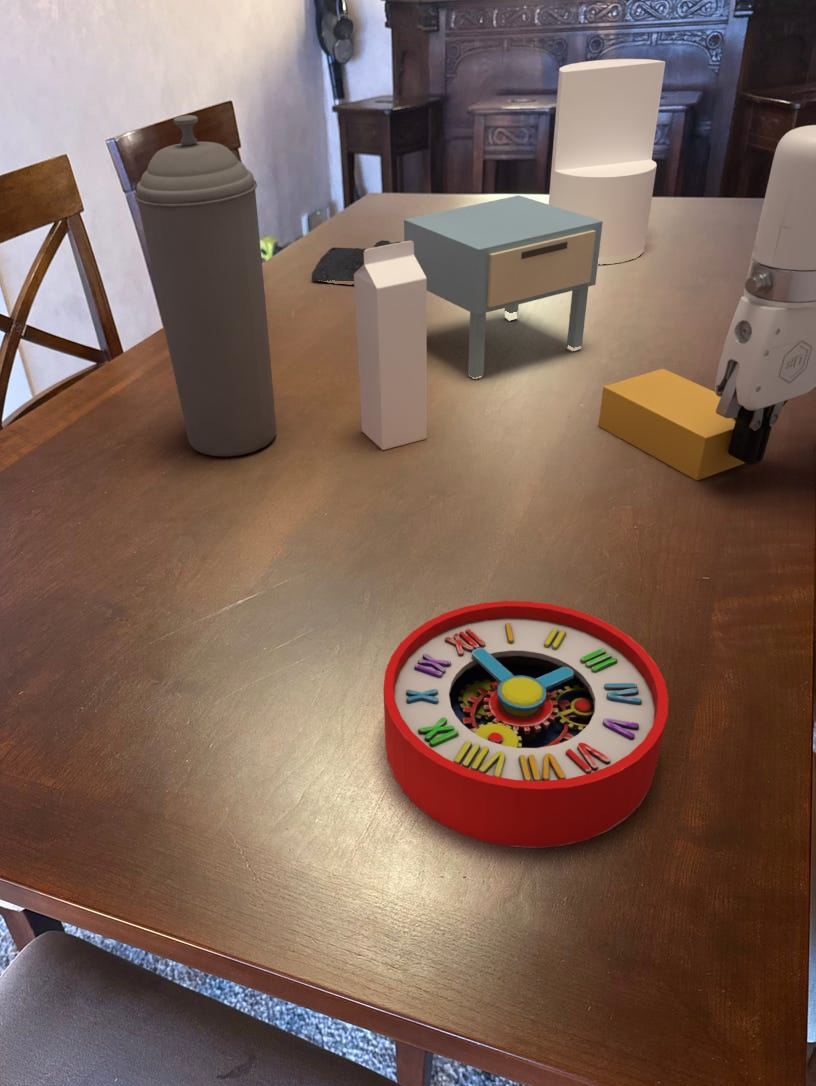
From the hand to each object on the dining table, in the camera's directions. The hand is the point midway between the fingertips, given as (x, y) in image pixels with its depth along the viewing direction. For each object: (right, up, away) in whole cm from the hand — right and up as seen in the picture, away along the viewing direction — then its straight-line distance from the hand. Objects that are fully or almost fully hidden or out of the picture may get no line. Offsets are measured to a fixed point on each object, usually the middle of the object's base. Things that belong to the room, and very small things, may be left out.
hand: (744, 457), depth 94 cm
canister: (-56, +5, +16) cm, 59 cm away
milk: (-36, +5, +14) cm, 39 cm away
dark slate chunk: (-36, +46, +64) cm, 86 cm away
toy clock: (-30, -27, -27) cm, 48 cm away
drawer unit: (-20, +23, +34) cm, 46 cm away
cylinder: (+3, +50, +66) cm, 83 cm away
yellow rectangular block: (-4, +4, +8) cm, 10 cm away
